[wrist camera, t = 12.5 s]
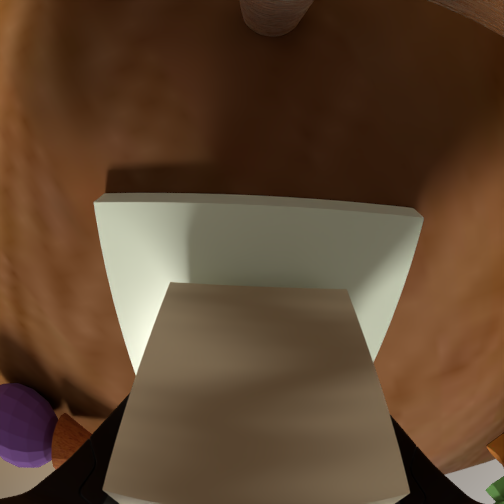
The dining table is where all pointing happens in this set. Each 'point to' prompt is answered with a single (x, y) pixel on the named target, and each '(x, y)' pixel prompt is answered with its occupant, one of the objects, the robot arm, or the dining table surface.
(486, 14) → the steel handle
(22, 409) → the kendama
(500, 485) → the decorative tree
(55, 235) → the dining table surface
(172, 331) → the birch block
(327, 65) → the dining table surface
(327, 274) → the sage pad
